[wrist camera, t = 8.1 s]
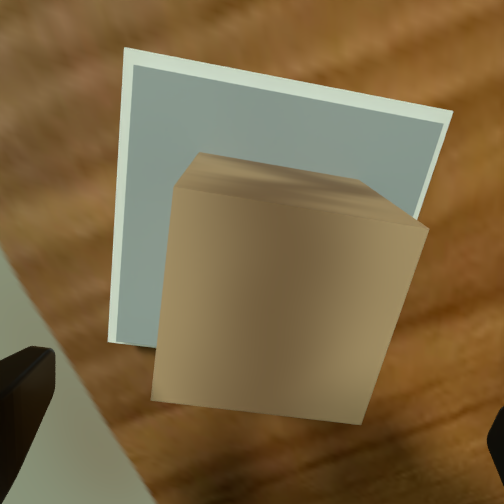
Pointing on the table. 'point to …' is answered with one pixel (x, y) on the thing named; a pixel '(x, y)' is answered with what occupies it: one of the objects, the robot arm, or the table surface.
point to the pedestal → (243, 155)
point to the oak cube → (280, 290)
